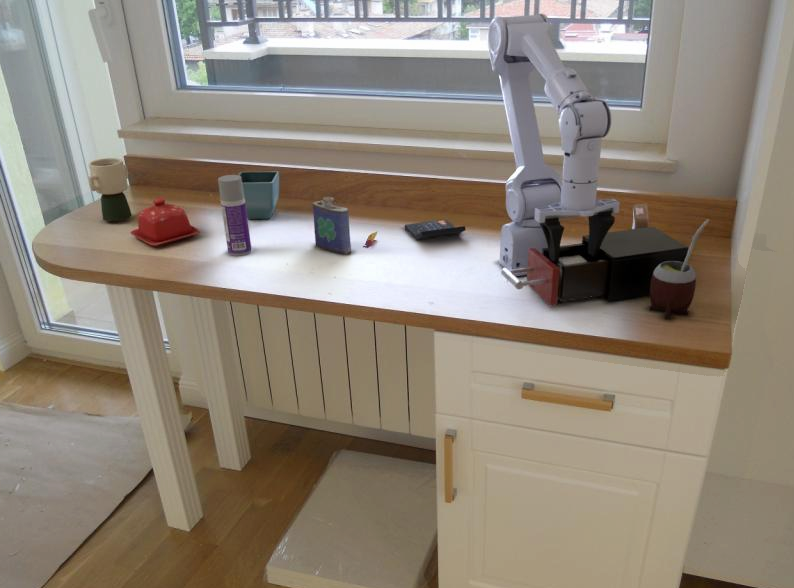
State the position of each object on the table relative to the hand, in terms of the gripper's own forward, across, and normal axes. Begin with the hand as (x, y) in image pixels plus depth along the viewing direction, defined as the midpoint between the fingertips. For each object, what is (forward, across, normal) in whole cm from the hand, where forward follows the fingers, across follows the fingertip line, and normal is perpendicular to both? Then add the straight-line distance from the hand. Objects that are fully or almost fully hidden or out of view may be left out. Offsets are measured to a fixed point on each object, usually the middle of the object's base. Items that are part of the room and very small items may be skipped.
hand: (573, 257), depth 137 cm
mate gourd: (+7, +12, -12) cm, 19 cm away
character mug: (+7, -77, +71) cm, 105 cm away
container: (+7, -53, +41) cm, 67 cm away
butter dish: (+7, -67, +55) cm, 87 cm away
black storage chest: (+7, +12, 0) cm, 13 cm away
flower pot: (+7, -46, +62) cm, 77 cm away
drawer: (+6, -2, 0) cm, 6 cm away
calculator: (+7, -13, +37) cm, 40 cm away
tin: (+7, +21, +14) cm, 27 cm away
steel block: (+5, 0, 0) cm, 5 cm away
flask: (+7, -35, +36) cm, 51 cm away
